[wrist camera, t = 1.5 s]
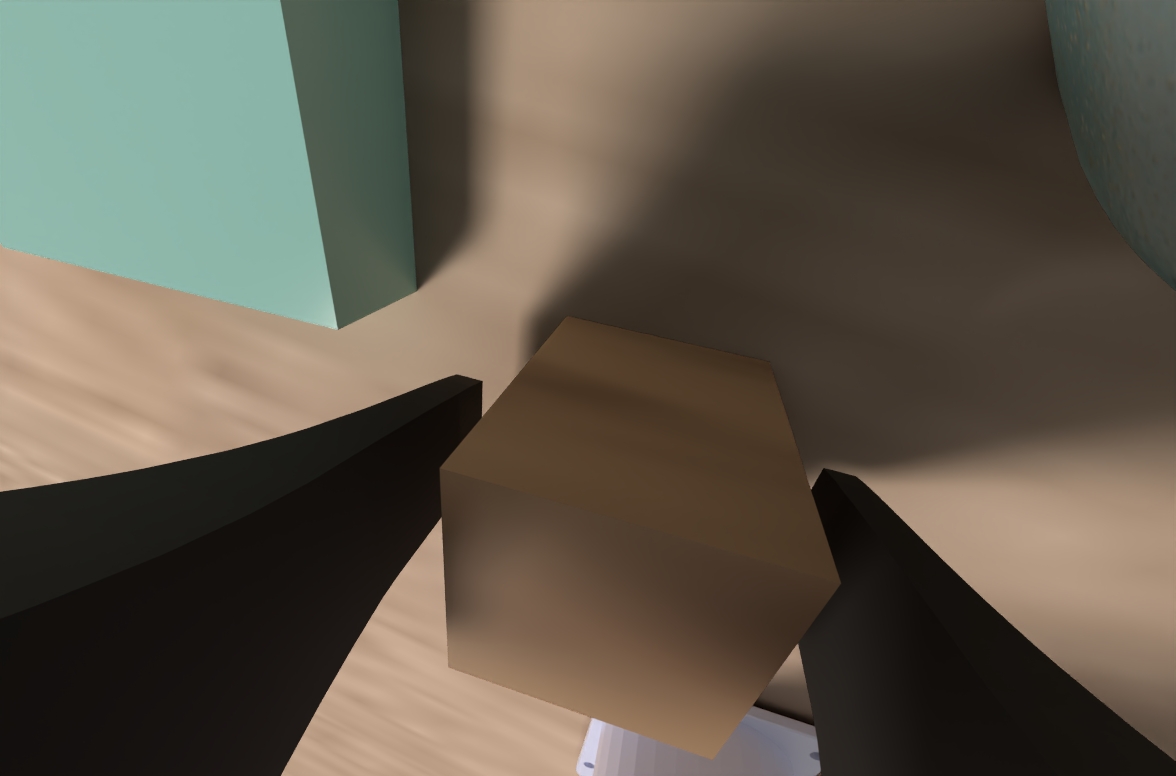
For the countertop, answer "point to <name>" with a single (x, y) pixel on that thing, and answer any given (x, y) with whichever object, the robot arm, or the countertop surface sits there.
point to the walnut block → (633, 535)
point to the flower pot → (1123, 113)
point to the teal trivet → (212, 148)
